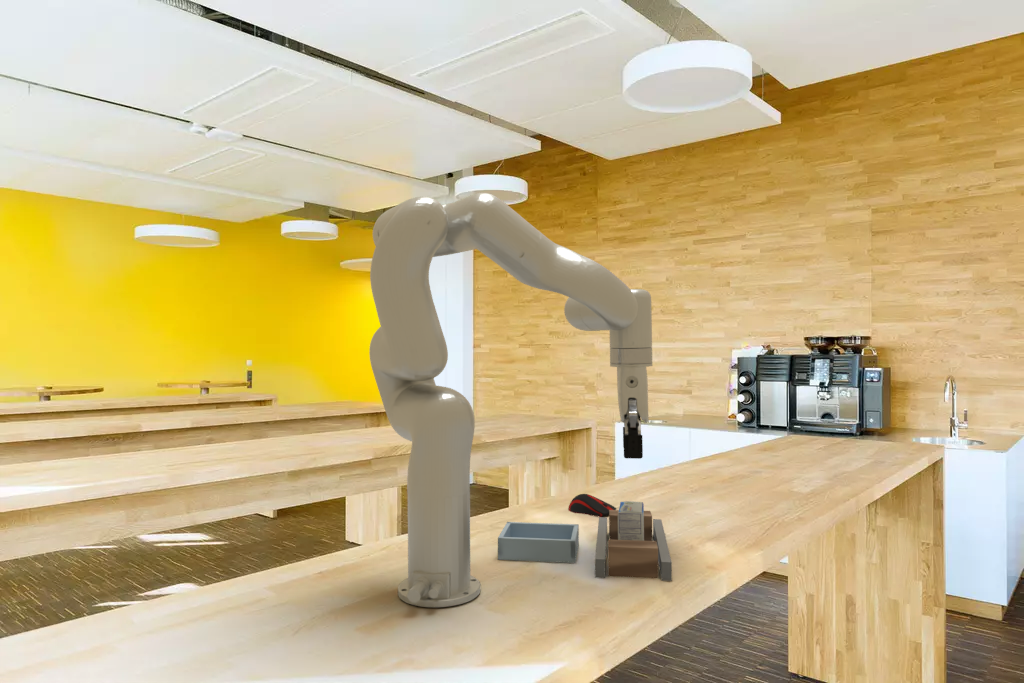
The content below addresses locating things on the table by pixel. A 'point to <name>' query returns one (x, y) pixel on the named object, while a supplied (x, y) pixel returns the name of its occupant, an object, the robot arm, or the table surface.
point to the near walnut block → (632, 558)
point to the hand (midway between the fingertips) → (632, 453)
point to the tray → (539, 542)
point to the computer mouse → (590, 506)
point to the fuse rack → (659, 537)
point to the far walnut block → (614, 525)
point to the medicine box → (631, 521)
